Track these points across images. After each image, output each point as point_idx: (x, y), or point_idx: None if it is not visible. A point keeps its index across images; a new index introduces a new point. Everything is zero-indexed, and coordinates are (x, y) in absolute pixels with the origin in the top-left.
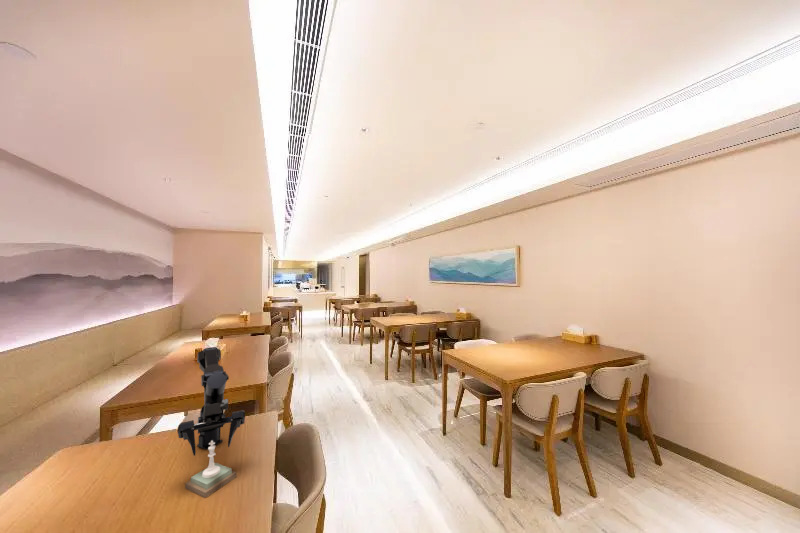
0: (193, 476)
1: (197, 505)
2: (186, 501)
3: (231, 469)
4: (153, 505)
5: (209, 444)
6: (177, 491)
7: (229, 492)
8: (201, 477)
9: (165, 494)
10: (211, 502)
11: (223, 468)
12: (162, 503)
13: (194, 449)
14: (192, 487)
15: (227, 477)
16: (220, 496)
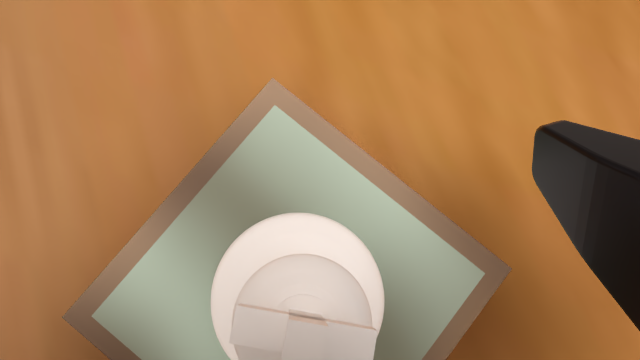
0: (463, 281)
1: (303, 24)
2: (407, 94)
3: (96, 314)
4: (637, 117)
5: (355, 328)
6: (540, 244)
7: (96, 108)
8: (371, 239)
9: None
10: (208, 28)
11: (187, 350)
12: (581, 122)
13: (609, 152)
14: (419, 197)
15: (136, 254)
16: (158, 78)
